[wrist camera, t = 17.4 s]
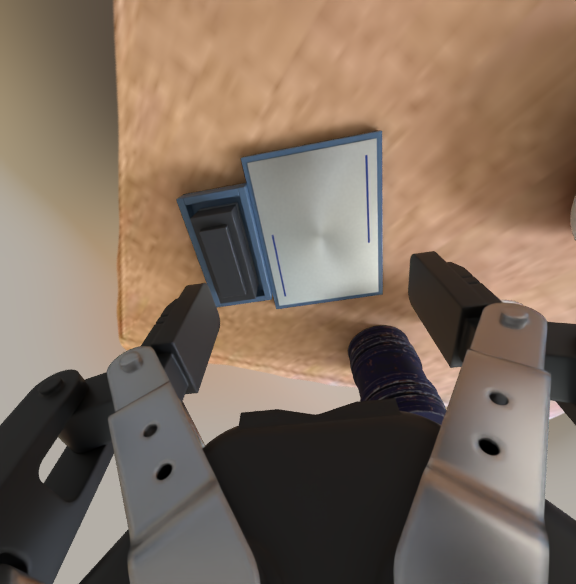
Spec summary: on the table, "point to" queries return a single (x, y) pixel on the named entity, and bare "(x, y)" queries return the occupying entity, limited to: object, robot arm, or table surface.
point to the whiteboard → (320, 218)
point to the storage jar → (393, 372)
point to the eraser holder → (241, 195)
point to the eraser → (226, 252)
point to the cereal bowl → (573, 218)
